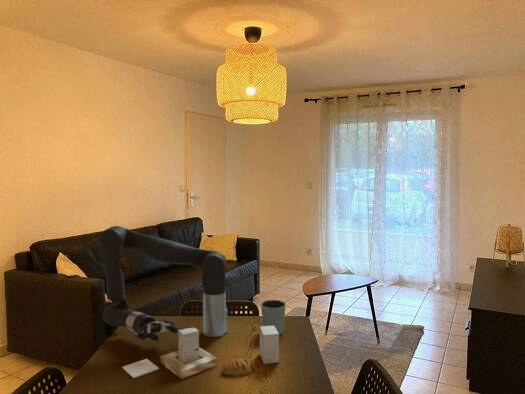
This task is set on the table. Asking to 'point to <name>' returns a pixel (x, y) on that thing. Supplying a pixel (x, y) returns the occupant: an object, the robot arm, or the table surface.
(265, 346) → the small box
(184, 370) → the socket block
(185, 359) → the skincare box
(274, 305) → the grey green cup
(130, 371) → the white pad
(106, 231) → the robot arm
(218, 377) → the table surface
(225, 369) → the pastry
